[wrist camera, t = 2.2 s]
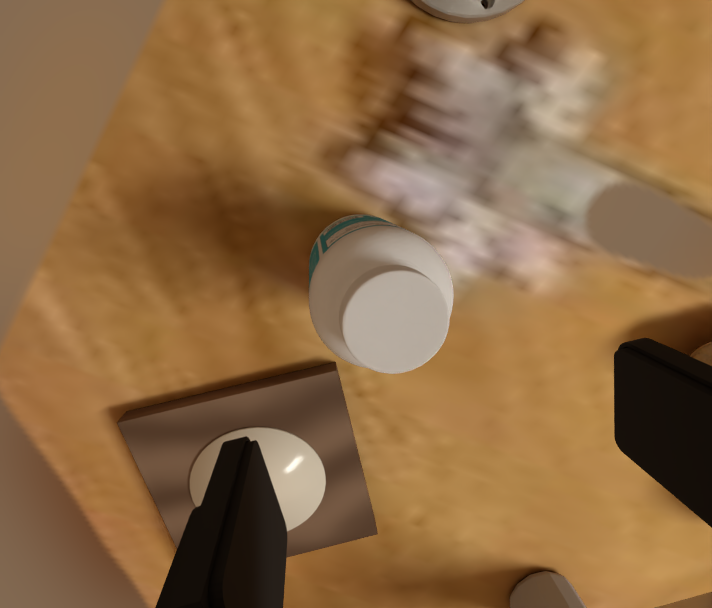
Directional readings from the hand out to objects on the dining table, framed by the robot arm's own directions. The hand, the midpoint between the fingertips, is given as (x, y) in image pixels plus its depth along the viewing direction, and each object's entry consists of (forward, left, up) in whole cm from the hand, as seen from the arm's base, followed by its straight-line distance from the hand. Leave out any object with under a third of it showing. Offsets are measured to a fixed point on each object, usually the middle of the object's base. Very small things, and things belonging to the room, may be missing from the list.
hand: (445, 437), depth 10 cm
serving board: (+16, -12, -20) cm, 28 cm away
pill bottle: (0, 0, -21) cm, 21 cm away
